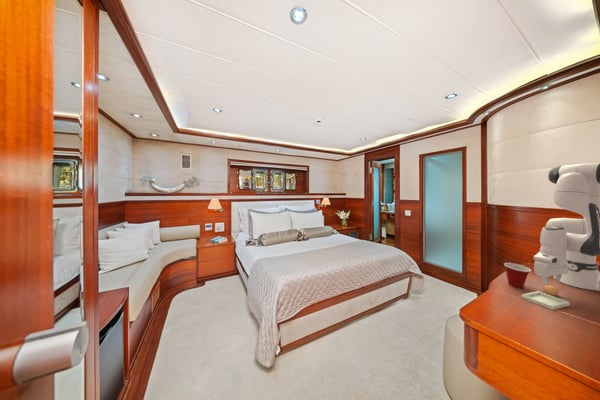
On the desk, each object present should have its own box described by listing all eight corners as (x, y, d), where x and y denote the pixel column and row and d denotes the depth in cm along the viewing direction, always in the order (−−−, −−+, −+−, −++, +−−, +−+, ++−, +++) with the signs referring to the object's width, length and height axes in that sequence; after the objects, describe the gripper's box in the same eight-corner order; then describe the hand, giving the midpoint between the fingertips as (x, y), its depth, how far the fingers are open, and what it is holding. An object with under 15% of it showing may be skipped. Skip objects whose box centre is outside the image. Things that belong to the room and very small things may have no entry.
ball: (547, 292, 109) (547, 283, 108) (561, 296, 104) (561, 287, 104) (541, 293, 108) (541, 284, 107) (554, 298, 103) (555, 288, 102)
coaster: (545, 291, 110) (545, 289, 110) (565, 298, 103) (565, 296, 103) (537, 293, 108) (537, 291, 108) (556, 300, 101) (556, 298, 101)
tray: (537, 294, 107) (538, 291, 107) (569, 306, 96) (570, 302, 96) (521, 298, 104) (521, 294, 104) (552, 310, 93) (552, 306, 93)
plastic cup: (526, 292, 109) (527, 271, 109) (499, 284, 119) (500, 264, 118) (533, 288, 114) (534, 267, 113) (507, 280, 124) (508, 261, 123)
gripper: (556, 253, 110) (554, 278, 111) (531, 256, 105) (530, 282, 105) (574, 257, 104) (572, 283, 104) (548, 260, 99) (547, 287, 99)
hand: (551, 282), depth 105 cm, fingers open, 8 cm apart
